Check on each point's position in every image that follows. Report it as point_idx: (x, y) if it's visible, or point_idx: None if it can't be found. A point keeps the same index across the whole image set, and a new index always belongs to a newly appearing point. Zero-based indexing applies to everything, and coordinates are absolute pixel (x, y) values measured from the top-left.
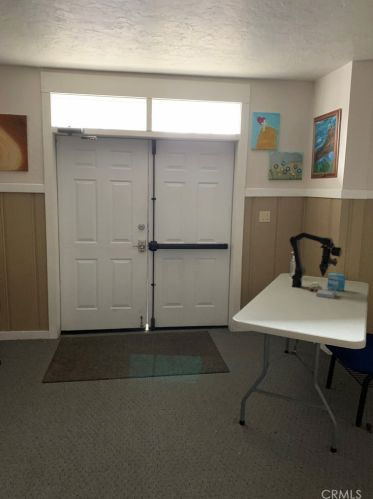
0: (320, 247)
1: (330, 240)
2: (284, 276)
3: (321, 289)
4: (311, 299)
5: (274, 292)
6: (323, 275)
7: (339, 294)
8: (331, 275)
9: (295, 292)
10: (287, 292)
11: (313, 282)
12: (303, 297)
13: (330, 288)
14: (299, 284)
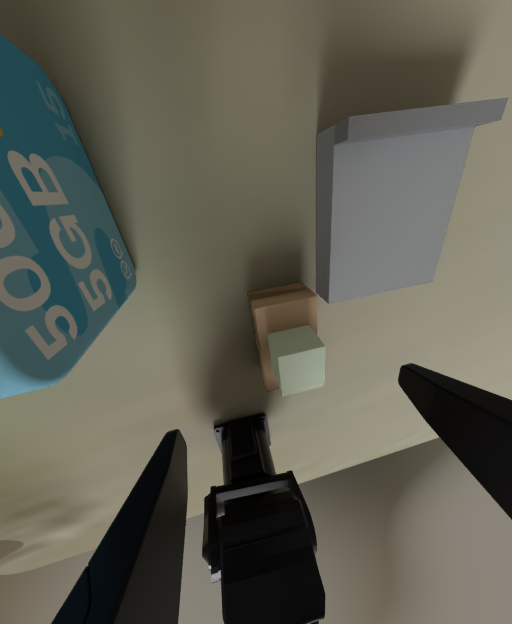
0: None
1: None
2: (73, 549)
3: (273, 296)
4: (494, 266)
5: (412, 426)
6: (431, 377)
7: (251, 98)
8: (15, 335)
9: (375, 382)
10: (391, 401)
11: (309, 386)
12: (461, 316)
13: (124, 254)
14: (256, 435)
